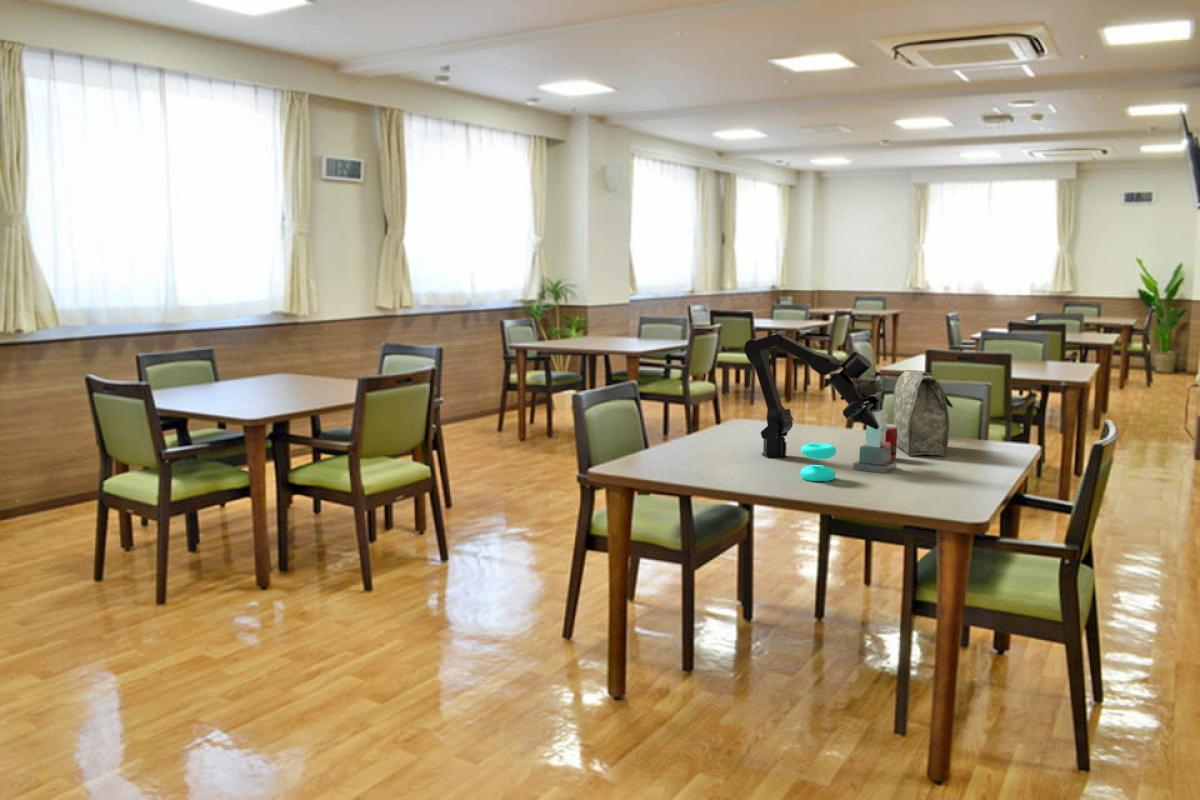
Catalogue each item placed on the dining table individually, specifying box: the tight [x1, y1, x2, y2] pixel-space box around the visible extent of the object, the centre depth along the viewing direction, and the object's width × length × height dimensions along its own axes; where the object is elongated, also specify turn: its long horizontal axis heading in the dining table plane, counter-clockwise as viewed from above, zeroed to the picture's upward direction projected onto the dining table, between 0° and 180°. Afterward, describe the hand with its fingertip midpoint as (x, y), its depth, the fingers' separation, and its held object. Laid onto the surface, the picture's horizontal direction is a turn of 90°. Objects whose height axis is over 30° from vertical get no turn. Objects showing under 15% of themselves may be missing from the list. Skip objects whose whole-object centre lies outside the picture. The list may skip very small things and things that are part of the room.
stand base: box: [852, 442, 898, 474], centre depth 297 cm, size 10×10×8 cm
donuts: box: [800, 442, 837, 482], centre depth 283 cm, size 10×10×10 cm
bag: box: [892, 369, 954, 457], centre depth 326 cm, size 22×16×27 cm
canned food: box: [885, 423, 898, 461], centre depth 313 cm, size 8×8×11 cm
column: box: [865, 409, 889, 448], centre depth 296 cm, size 5×4×12 cm
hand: (880, 427), depth 295 cm, fingers closed on column, 4 cm apart
